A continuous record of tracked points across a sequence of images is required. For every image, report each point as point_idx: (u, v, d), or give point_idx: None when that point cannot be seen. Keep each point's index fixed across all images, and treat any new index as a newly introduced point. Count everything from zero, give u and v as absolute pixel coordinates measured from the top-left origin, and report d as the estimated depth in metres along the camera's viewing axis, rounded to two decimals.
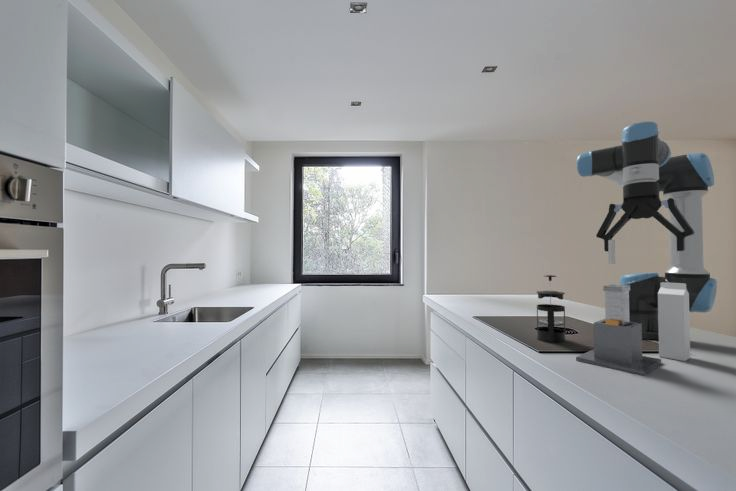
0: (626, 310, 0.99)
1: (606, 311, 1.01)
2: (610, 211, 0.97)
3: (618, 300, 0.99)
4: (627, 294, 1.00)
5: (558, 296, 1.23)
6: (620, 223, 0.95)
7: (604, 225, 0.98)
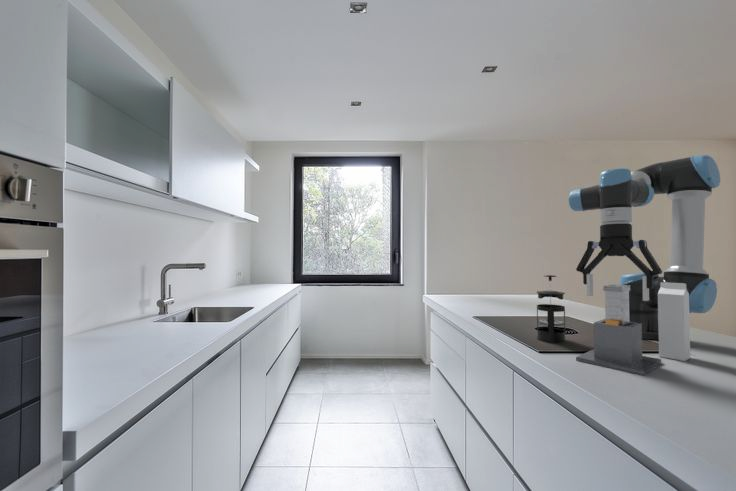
0: (626, 310, 0.99)
1: (606, 311, 1.01)
2: (588, 248, 1.06)
3: (618, 300, 0.99)
4: (627, 294, 1.00)
5: (558, 296, 1.23)
6: (597, 259, 1.04)
7: (583, 260, 1.07)
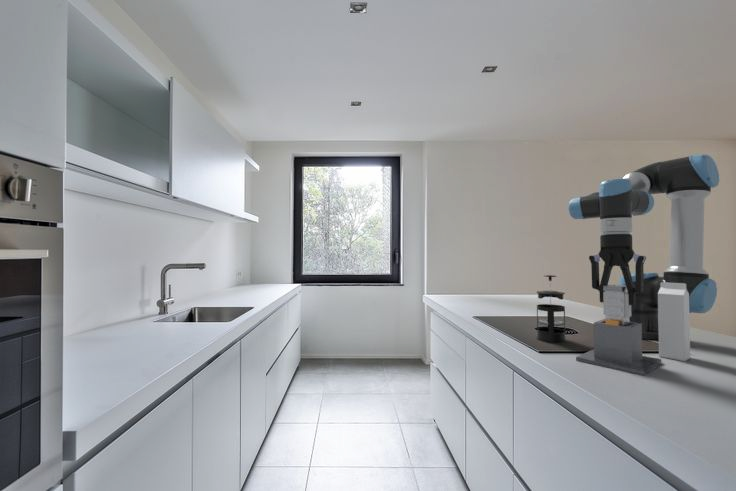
0: None
1: (606, 311, 1.01)
2: (592, 262, 1.05)
3: (618, 300, 0.99)
4: None
5: (558, 296, 1.23)
6: (606, 273, 1.02)
7: (594, 276, 1.05)
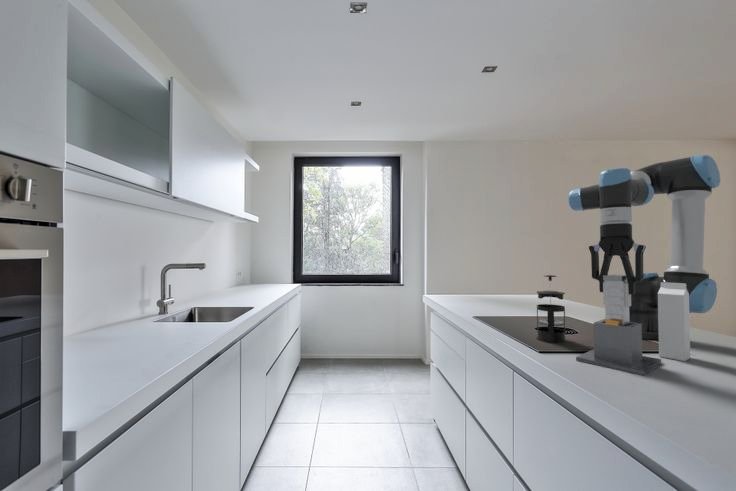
0: None
1: (606, 301, 1.01)
2: (592, 252, 1.05)
3: (618, 289, 0.99)
4: None
5: (558, 296, 1.23)
6: (606, 262, 1.02)
7: (594, 266, 1.05)
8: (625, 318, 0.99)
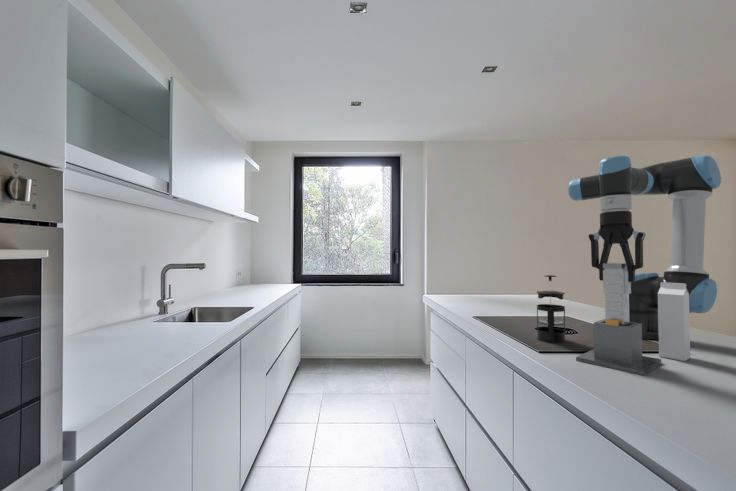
0: None
1: (606, 289, 1.02)
2: (592, 241, 1.05)
3: (618, 277, 0.99)
4: None
5: (558, 296, 1.23)
6: (605, 250, 1.03)
7: (593, 254, 1.05)
8: (625, 306, 0.99)
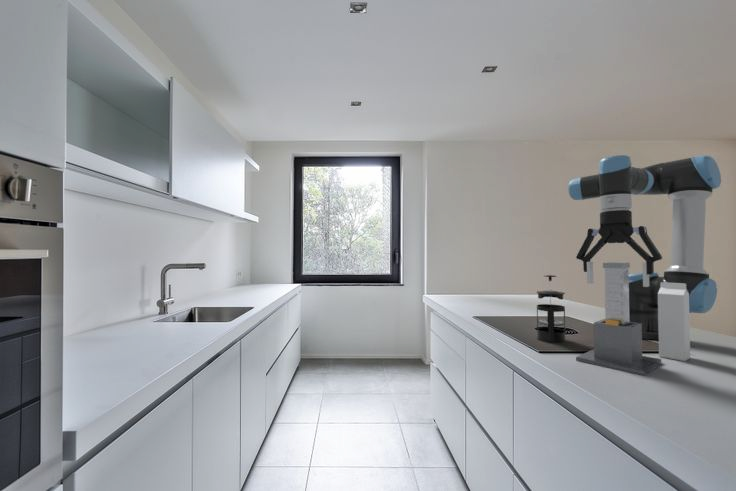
0: (626, 287, 1.00)
1: (606, 288, 1.02)
2: (588, 235, 1.06)
3: (618, 276, 0.99)
4: (626, 270, 1.00)
5: (558, 296, 1.23)
6: (597, 247, 1.04)
7: (583, 248, 1.07)
8: (625, 305, 0.99)
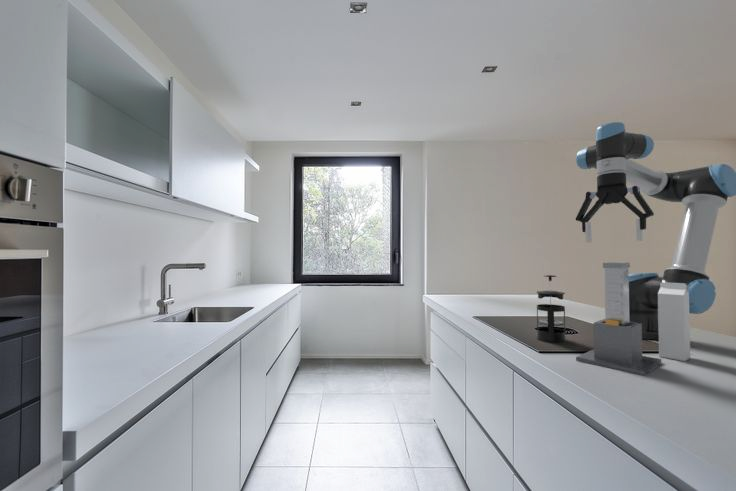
0: (626, 287, 1.00)
1: (606, 288, 1.02)
2: (586, 198, 1.15)
3: (618, 276, 0.99)
4: (626, 270, 1.00)
5: (558, 296, 1.23)
6: (595, 208, 1.13)
7: (582, 210, 1.16)
8: (625, 305, 0.99)
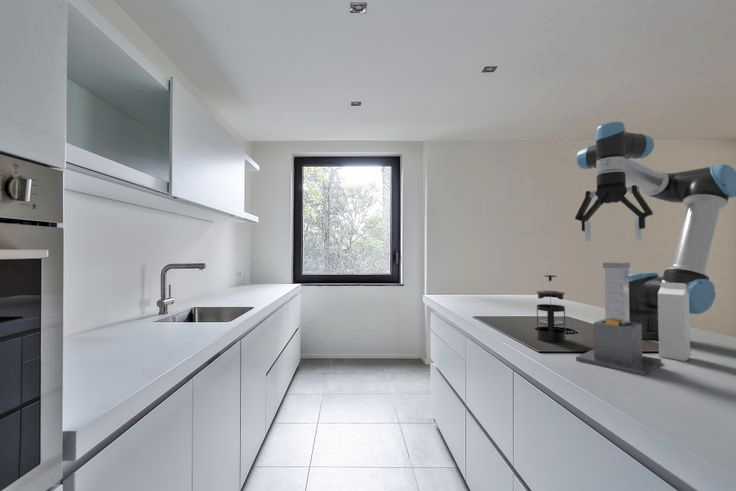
0: (626, 287, 1.00)
1: (606, 288, 1.02)
2: (586, 197, 1.16)
3: (618, 276, 0.99)
4: (626, 270, 1.00)
5: (558, 296, 1.23)
6: (594, 207, 1.14)
7: (581, 209, 1.17)
8: (625, 305, 0.99)
